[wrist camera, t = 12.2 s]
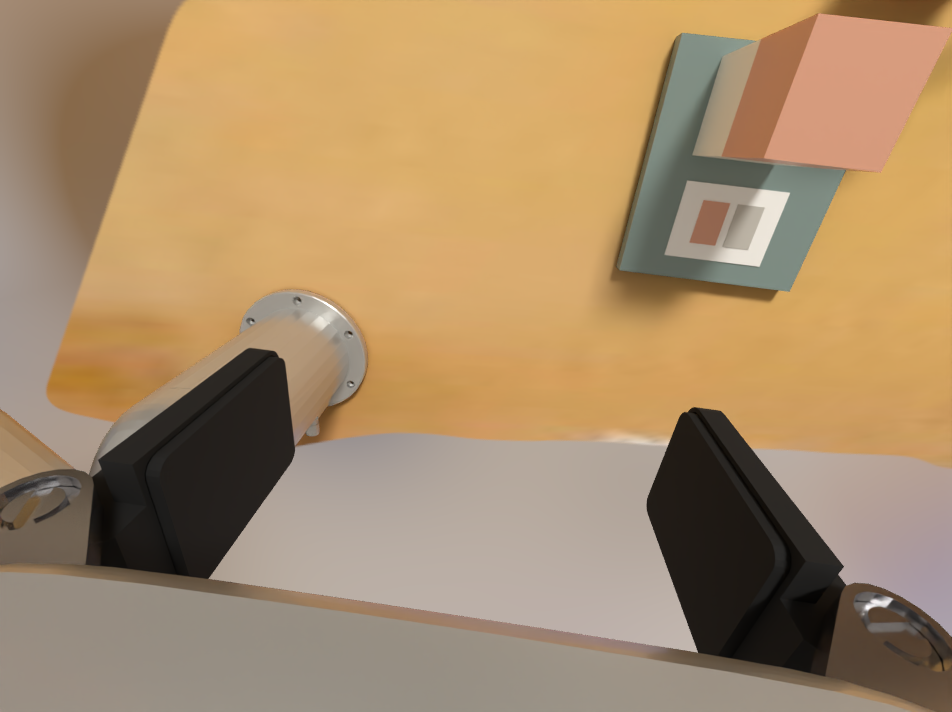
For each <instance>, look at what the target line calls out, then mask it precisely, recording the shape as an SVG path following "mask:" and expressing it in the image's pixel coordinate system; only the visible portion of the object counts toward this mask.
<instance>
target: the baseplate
mask: <svg viewBox="0 0 952 712" xmlns="http://www.w3.org/2000/svg"><path fill="white" fill-rule="evenodd" d="M760 41H761V39H760V40H758V41H752V40H743V39H734V38H724V37H715V36H706V35H697V34H688V33H681V34H680V35H679V36H677V37H676V40H675V43H674V47H673V51H672V55H671V59H670V63H669V66H668V70H667V74H666V78H665V82H664V86H663V89H662V93H661V97H660V101H659V105H658V109H657V112H656V116H655V120H654V124H653V128H652V132H651V135H650V139H649V143H648V147H647V151H646V155H645V158H644V162H643V166H642V170H641V174H640V178H639V181H638V185H637V189H636V193H635V197H634V201H633V204H632V208H631V212H630V216H629V220H628V224H627V227H626V231H625V235H624V239H623V243H622V247H621V250H620V254H619V258H618V262H617V266H616V267H617V268H618V269H619V270H622V271H630V272H638V273H646V274H653V275H661V276H669V277H677V278H685V279H693V280H701V281H709V282H717V283H725V284H733V285H741V286H749V287H757V288H765V289H773V290H780V291H788V292H790V289H791V287H792V285H793V283H794V281H795V279H796V277H797V274H798V272H799V270H800V268H801V266H802V264H803V261H804V259H805V257H806V255H807V253H808V251H809V249H810V246H811V244H812V242H813V240H814V238H815V236H816V233H817V231H818V229H819V227H820V225H821V223H822V220H823V218H824V216H825V214H826V212H827V210H828V208H829V205H830V203H831V201H832V199H833V197H834V195H835V192H836V190H837V188H838V186H839V184H840V182H841V180H842V177H843V175H844V173H845V171H846V170H837V169H822V168H812V167H804V166H795V165H787V164H779V163H770V162H762V161H754V160H746V159H737V158H729V157H721V156H722V153H723V150H724V147H725V144H726V142H727V139H728V136H729V133H730V130H731V127H732V124H733V121H734V118H735V115H736V112H737V109H738V106H739V103H740V100H741V97H742V94H743V91H744V88H745V85H746V82H747V79H748V77H749V74H750V71H751V68H752V65H753V62H754V59H755V56H756V53H757V50H758V47H759V44H760Z"/></svg>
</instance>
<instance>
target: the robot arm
mask: <svg viewBox="0 0 952 712" xmlns="http://www.w3.org/2000/svg"><path fill="white" fill-rule="evenodd" d="M350 331H351V332H352V333H351V332H350ZM367 365H368V352H367V348H366V343H365V340H364V338H363V336H362V333H361V331H360V329H359V328H358V326H357V325H356V323H355V322H354V320H353V319H352V318H351V317H350V316H349V315H348V314H347V313H346V312H345V311H344V310H343V309H342V308H341V307H339V306H338V305H337V304H336V303H334V302H332V301H331V300H329V299H327V298H325V297H323V296H321V295H318V294H316V293H313V292H310V291H304V290H298V289H287V290H281V291H276V292H273V293H271V294H269V295H266V296H264V297H263V298H261V299H260V300H258V301H257V302H255V303H254V304H253V305H252V306H251V307H250V308H249V309H248V310H247V312H246V314H245V315H244V317H243V319H242V323H241V326H240V334H239V335H237V336H236V337H234V338H233V339H231V340H230V341H228V342H227V343H225V344H224V345H222V346H221V347H219V348H218V349H217V350H215V351H214V352H212V353H211V354H209V355H208V356H206V357H205V358H203V359H202V360H200V361H199V362H197V363H196V364H194V365H193V366H191V367H190V368H188V369H187V370H185V371H184V372H182V373H181V374H179V375H178V376H176V377H175V378H173V379H172V380H170V381H169V382H168V383H166V384H165V385H163V386H162V387H160V388H159V389H157V390H156V391H154V392H153V393H151V394H150V395H148V396H147V397H145V398H144V399H142V400H141V401H139V402H138V403H137V404H135V405H134V406H132V407H131V408H130V409H128V410H127V411H126V412H125V413H124V414H122V416H121V417H120V418H119V419H118V420H117V421H116V422H115V423H114V424H113V425H112V427H111V428H110V430H109V431H108V433H107V434H106V436H105V437H104V439H103V440H102V442H101V444H100V446H99V448H98V451H97V453H96V455H95V457H94V460H93V463H92V466H91V469H90V473H89V475H88V474H87V473H86V472H84V471H79V470H76V469H74V468H73V467H72V466H71V465H70V464H68V463H67V462H66V461H65V460H63V459H62V458H61V457H60V456H59V455H57V454H56V453H55V452H54V451H52V450H51V449H50V448H49V447H47V446H46V445H45V444H44V443H42V442H41V441H40V440H39V439H38V438H36V437H35V436H34V435H33V434H31V433H30V432H29V431H28V430H26V429H25V428H24V427H23V426H21V425H20V424H19V423H18V422H17V421H15V420H14V419H13V418H12V417H10V416H9V415H8V414H7V413H5V412H3V411H2V410H1V409H0V712H952V637H951V636H950V635H949V634H948V632H946V630H945V629H944V628H943V627H942V626H941V625H940V624H939V623H938V622H936V621H935V620H934V619H933V618H931V617H930V616H929V615H928V614H926V613H925V612H924V611H923V610H921V609H920V608H918V607H917V606H915V605H914V604H912V603H910V602H909V601H907V600H906V599H904V598H903V597H901V596H899V595H896V594H894V593H892V592H890V591H888V590H886V589H884V588H881V587H877V586H874V585H871V584H865V583H853V584H850V585H847V586H846V584H845V583H844V582H843V580H842V579H841V578H840V577H839V575H838V574H839V572H840V571H841V570H842V568H843V567H844V566H843V565H842V564H841V562H840V561H839V560H838V559H837V557H836V556H835V555H834V553H833V552H832V551H831V550H830V548H829V547H828V546H827V544H826V543H825V542H824V541H823V539H822V538H821V537H820V536H819V534H818V533H817V532H816V531H815V529H814V528H813V527H812V525H811V524H810V523H809V522H808V520H807V519H806V518H805V516H804V515H803V514H802V513H801V511H800V510H799V509H798V508H797V506H796V505H795V504H794V502H793V501H792V500H791V499H790V498H789V496H788V495H787V494H786V492H785V491H784V490H783V489H782V487H781V486H780V485H779V483H778V482H777V481H776V480H775V478H774V477H773V476H772V475H771V473H770V472H769V471H768V469H767V468H766V467H765V466H764V464H763V463H762V462H761V461H760V459H759V458H758V457H757V455H756V454H755V453H754V452H753V450H752V449H751V448H750V447H749V445H748V444H747V443H746V441H745V440H744V439H743V438H742V436H741V435H740V434H739V433H738V431H737V430H736V429H735V427H734V426H733V425H732V424H731V422H730V421H729V420H728V419H727V417H726V416H725V415H724V414H723V413H722V412H721V411H718V410H711V409H703V408H696V407H694V408H691V409H690V410H689V411H688V413H687V412H684V413H682V414H681V415H680V417H679V419H678V422H677V425H676V427H675V430H674V432H673V435H672V437H671V440H670V442H669V445H668V447H667V450H666V452H665V455H664V457H663V460H662V462H661V465H660V468H659V470H658V473H657V475H656V478H655V480H654V483H653V485H652V488H651V490H650V493H649V495H648V498H647V512H648V516H649V518H650V521H651V524H652V526H653V530H654V532H655V535H656V538H657V541H658V543H659V546H660V549H661V552H662V554H663V557H664V560H665V563H666V565H667V568H668V571H669V573H670V576H671V579H672V582H673V585H674V587H675V590H676V593H677V596H678V598H679V601H680V604H681V607H682V609H683V612H684V615H685V618H686V620H687V623H688V626H689V629H690V631H691V634H692V637H693V640H694V642H695V645H696V648H697V650H698V653H696V652H690V651H685V650H678V649H671V648H665V647H659V646H652V645H646V644H639V643H633V642H627V641H620V640H614V639H608V638H601V637H594V636H588V635H582V634H575V633H569V632H563V631H556V630H549V629H543V628H537V627H530V626H523V625H517V624H511V623H503V622H497V621H491V620H484V619H477V618H470V617H464V616H458V615H451V614H444V613H437V612H431V611H424V610H417V609H411V608H404V607H397V606H390V605H384V604H377V603H371V602H364V601H357V600H350V599H343V598H336V597H329V596H323V595H316V594H309V593H302V592H295V591H288V590H281V589H274V588H266V587H260V586H253V585H246V584H239V583H232V582H225V581H219V580H212V579H209V577H210V576H211V574H212V573H213V572H214V570H215V569H216V567H217V566H218V564H219V563H220V562H221V560H222V559H223V557H224V556H225V555H226V553H227V552H228V551H229V549H230V548H231V546H232V545H233V544H234V542H235V541H236V539H237V538H238V536H239V535H240V534H241V532H242V531H243V529H244V528H245V527H246V525H247V524H248V522H249V521H250V520H251V518H252V517H253V515H254V514H255V513H256V511H257V510H258V508H259V507H260V506H261V504H262V503H263V501H264V500H265V499H266V497H267V496H268V494H269V493H270V492H271V490H272V489H273V487H274V486H275V485H276V483H277V482H278V480H279V479H280V477H281V476H282V475H283V473H284V472H285V471H286V469H287V468H288V466H289V465H290V463H291V462H292V459H293V457H294V453H295V446H296V444H297V443H298V442H299V440H300V439H301V438H302V436H303V435H304V433H305V432H306V435H307V436H316V435H318V434H319V432H320V427H319V421H318V418H319V417H320V416H321V414H322V413H323V412H324V410H325V409H326V408H327V406H332V405H335V404H338V403H340V402H342V401H344V400H345V399H347V398H349V397H350V396H351V395H352V394H353V393H354V392H355V391H356V390H357V388H358V387H359V385H360V384H361V383H362V380H363V378H364V376H365V374H366V370H367Z"/></svg>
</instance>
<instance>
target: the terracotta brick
mask: <svg viewBox="0 0 952 712" xmlns="http://www.w3.org/2000/svg"><path fill="white" fill-rule="evenodd" d="M951 32H952V28H946V27H937V26H928V25H919V24H910V23H901V22H892V21H883V20H874V19H865V18H856V17H847V16H838V15H829V14H820V13H819V14H816V15H814V16H812V17H810V18H807V19H805V20H803V21H801V22H798V23H796V24H794V25H792V26H789V27H787V28H785V29H783V30H780V31H778V32H776V33H774V34H771V35H769V36H767V37H765V38H762V39H761V41H760V44H759V47H758V50H757V53H756V56H755V59H754V62H753V65H752V68H751V71H750V74H749V77H748V79H747V82H746V85H745V88H744V91H743V94H742V97H741V100H740V103H739V106H738V109H737V112H736V115H735V118H734V121H733V124H732V127H731V130H730V133H729V136H728V139H727V142H726V144H725V147H724V150H723V153H722V156H721V157H729V158H737V159H746V160H754V161H762V162H770V163H779V164H787V165H795V166H804V167H812V168H822V169H837V170H852V171H867V172H881V171H882V169H883V167H884V165H885V163H886V161H887V159H888V157H889V155H890V153H891V151H892V149H893V147H894V145H895V143H896V141H897V139H898V137H899V136H900V134H901V132H902V130H903V128H904V126H905V124H906V122H907V120H908V118H909V116H910V114H911V112H912V110H913V108H914V106H915V104H916V102H917V100H918V98H919V96H920V94H921V92H922V90H923V88H924V86H925V84H926V82H927V80H928V78H929V76H930V74H931V72H932V70H933V68H934V66H935V64H936V62H937V60H938V58H939V56H940V54H941V52H942V50H943V48H944V46H945V44H946V42H947V40H948V38H949V36H950V34H951Z"/></svg>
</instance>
